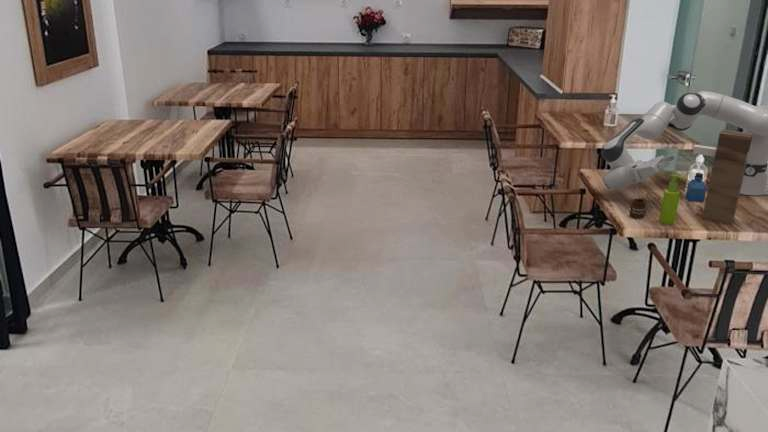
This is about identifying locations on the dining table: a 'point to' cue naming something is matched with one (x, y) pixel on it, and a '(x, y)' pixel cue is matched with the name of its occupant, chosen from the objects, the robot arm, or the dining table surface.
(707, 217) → the stand
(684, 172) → the dining table surface
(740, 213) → the dining table surface
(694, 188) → the perfume bottle
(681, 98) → the robot arm
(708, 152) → the rod
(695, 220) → the dining table surface
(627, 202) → the dining table surface
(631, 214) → the utensil holder
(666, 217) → the soap dispenser
